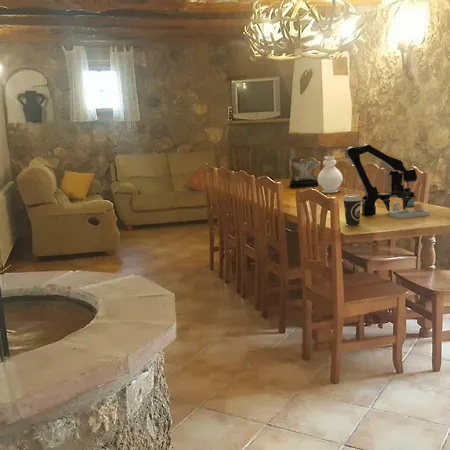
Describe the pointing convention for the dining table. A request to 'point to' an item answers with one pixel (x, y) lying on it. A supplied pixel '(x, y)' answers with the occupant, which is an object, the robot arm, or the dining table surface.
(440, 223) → the dining table surface
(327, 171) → the decorative vase
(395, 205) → the cream egg
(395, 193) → the robot arm
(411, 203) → the cupcake
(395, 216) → the egg carton
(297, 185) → the coral
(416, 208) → the brown egg
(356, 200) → the coffee cup
